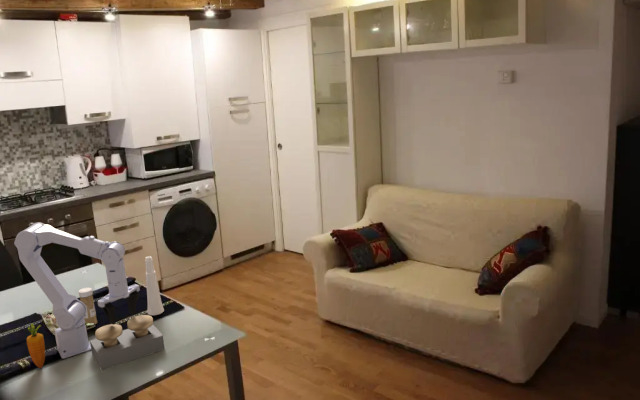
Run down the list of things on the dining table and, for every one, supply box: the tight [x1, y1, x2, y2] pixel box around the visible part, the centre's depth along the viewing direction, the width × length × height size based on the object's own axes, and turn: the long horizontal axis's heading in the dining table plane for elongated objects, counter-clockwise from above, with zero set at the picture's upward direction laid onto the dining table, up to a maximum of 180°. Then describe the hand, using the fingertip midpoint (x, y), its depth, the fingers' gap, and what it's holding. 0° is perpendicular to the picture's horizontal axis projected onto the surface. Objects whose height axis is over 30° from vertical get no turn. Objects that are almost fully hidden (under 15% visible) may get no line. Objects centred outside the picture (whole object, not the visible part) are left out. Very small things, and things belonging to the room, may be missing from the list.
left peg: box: [94, 323, 123, 349], centre depth 177 cm, size 8×8×6 cm
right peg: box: [126, 314, 154, 338], centre depth 183 cm, size 8×8×6 cm
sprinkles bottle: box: [78, 287, 98, 325], centre depth 200 cm, size 5×5×13 cm
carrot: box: [26, 323, 46, 369], centre depth 172 cm, size 5×5×15 cm
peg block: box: [89, 324, 166, 371], centre depth 181 cm, size 20×12×5 cm, turn 125°
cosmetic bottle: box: [144, 255, 165, 316], centre depth 206 cm, size 6×6×22 cm
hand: (122, 318), depth 182 cm, fingers open, 7 cm apart
